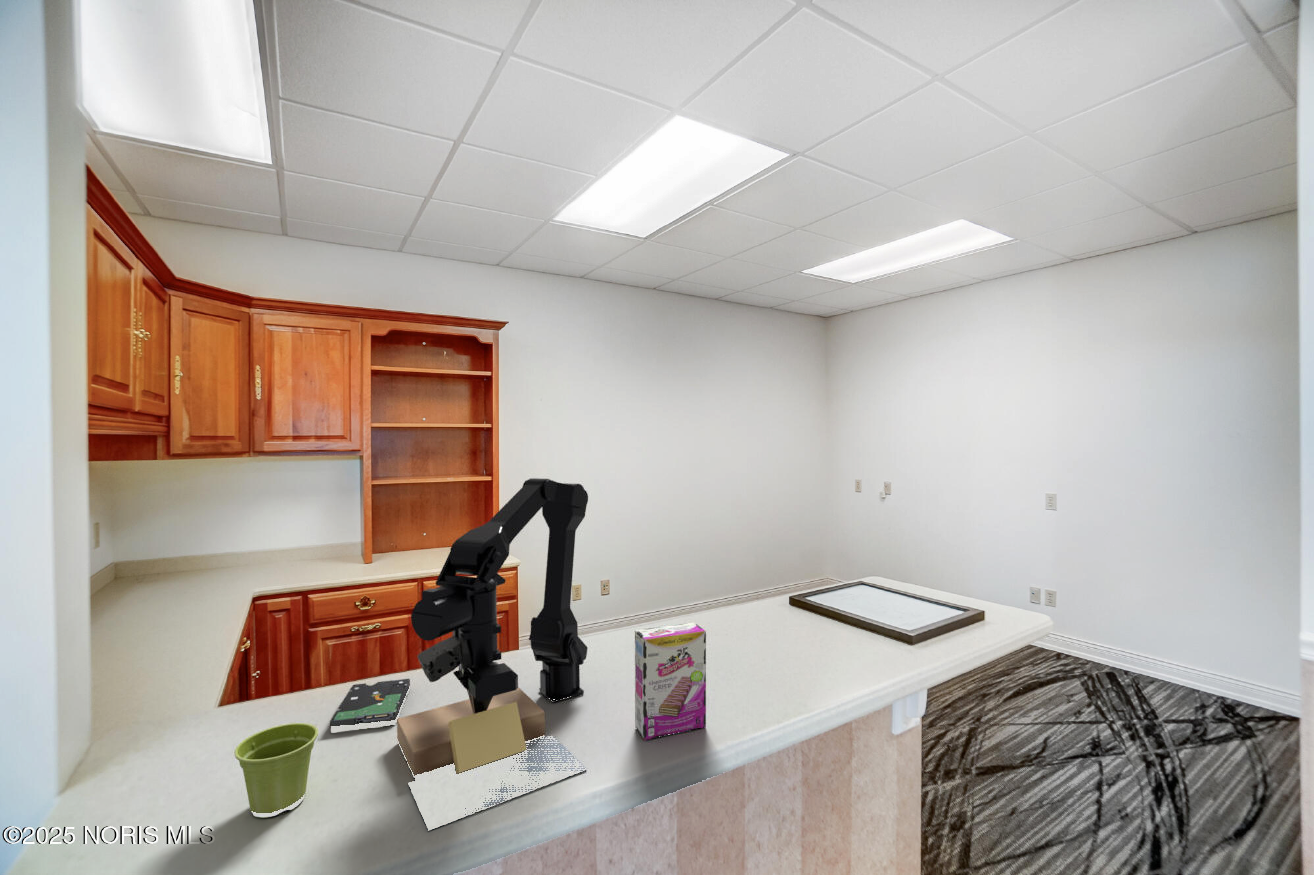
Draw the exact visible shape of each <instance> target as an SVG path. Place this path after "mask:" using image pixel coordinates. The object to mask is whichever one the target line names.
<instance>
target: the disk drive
mask: <svg viewBox="0 0 1314 875" xmlns="http://www.w3.org/2000/svg"><path fill="white" fill-rule="evenodd" d="M409 686H410V687H411V679H410V678H403V679H396V680H383V681H377V682H376V683H374V684H371V685H369V684H367V683H365V682H364V683H357V684H356V683H355V684H352V686H351V687H350V688H349V690H348V692H347V694H346V695H345V696H344V698H343V700H342V702H341V703H340V704H339V706H338V707H337V710H336V711H335V712H334V714H333V715H332V717H331V719H330V721H329V727H330V726H340V725H355V724H359V723H371V722H378V721H379V722H380V721H391V720H395V719H396V717H397V715H398V713H399V710H400V707H401V705H402V703H403V700H404V698H405V696H406V693H407V691H408V689H409Z"/></svg>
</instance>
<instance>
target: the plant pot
mask: <svg viewBox="0 0 1314 875" xmlns="http://www.w3.org/2000/svg"><path fill="white" fill-rule="evenodd" d="M318 736H319V729H318V727H317V726H315V725H314V724H310V723H305V722H294V723H284V724H281V725H276V726H272V727H269V728H266V729H263V730H260V731H258V732H256V733H254V734H252V735H250V736H248V737H247V738H245V739H244V740H242V741H241V742H240V743H239V744H238V745H237V746H236V748H235V750H234V757H235V758H236V760H237V761H238V762H239V766H240V768H241V769H242V772H243V776H244V777H243V778H244V782H245V788H246V789H245V790H246V793H247V799H248V805H249V810H250V809H251V811H253V812H256V813H272V812H274V811H278V810H280V809H284V808H286V807H288V806H290V805H292V804H293V803H295V802H296V801H298V800H299V799H301V797H303V795H304V794H305V795H306V793H305V792H307V783H308V778H309V777H308V776H309V771H310V770H309V769H310V763H311V754H312V750H313V748H314V746H315V741H316V739H317V738H318ZM251 811H250V812H251Z"/></svg>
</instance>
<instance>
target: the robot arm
mask: <svg viewBox="0 0 1314 875" xmlns="http://www.w3.org/2000/svg"><path fill="white" fill-rule="evenodd" d="M588 502H589V494H588V491H587V490H586V489H585V488H584V486H583V485H582V484H581V483H566V482H565V483H564V482H563V483H561V482H558V481H555V480H552V479H550V478H538V477H537V478H533V477H531V478H528V479H527V480H525V481H524V482H523V484H522V487H521V488H520V489H519V490H518V491H516V493H515V494H514V495H513V496H512V497H511V498H510V499H509V500H508V501H507V502H506V503H505V504H504V505H503V506H502V507H501V508H500V509H499V510H498V511H497V512H496V513H495V515H494V516H493V517H492V518H490V519H489V521H487V522H486V523H484V524H483V525H480V526H478V527H475V528H473V529H470V530H468V531H467V532H466V533H464V534H463V535H461V536H460V537H458V538H457V539H456V540H454V542H453V543H452V545H451V547H450V551H449V553H448V555H447V558H446V560H445V562H444V564H443V566H442V569H441V570H440V572H439V575H438V577H437V579H436V581H435V586H437V587H434V588H427V589H424V590H422V592H421V599H420V600H419V601H417V602H416V604H415V605H414V607H413V609H412V612H411V614H410V621H411V625H412V628H413V630H414V632H415V634H416V635H417V636H418V637H419V638H420V639H421V640H424V641H426V642H430V641H431V642H432V641H434V640H436V639H439V638H441V637H442V636H445V635H447V634H450V633H452V636H450V637H448V638H447V639H444V640H441V641H439V642H437V643H436V644H434V645H431V646H430V647H428V648H426V649H425V650H423V651H421V652H420V653H419V654H418V655H417V657H416V658H417V659H418V661H419V664H420V666H421V669H422V670H423V673H424V675H425V676H426V678H427V679H428V681H429V682H430V683H434V682H436V681H439V680H441V679H442V678H443V677H444V676H446V675H448V674H449V673H451V672H453V676H455V677H456V679H457V680H458V681H459V682H460V684H461V686H463V688H464V689H465V690H466V692H467V695H468V699H470V703H471V707H472V711H473V714H476V713H479V712H483V711H486V710H487V709H488V706H489V704H490V702H491V700H492V698H493V696H496V695H499V694H503V693H507V692H511V691H514V690H516V689H517V688H518V687H519V675H518V674H517V673H516V672H515V671H514V670H513V669H512V668H511V667H510V666H509V665H507V664H506V663H505V662H502V663H498V662H497V661H499V660H502V652H501V651H500V650H499V649H498V634H502V626H501V625H500V623H498V618H497V617H498V616H497V613H498V612H497V611H498V610H497V608H498V606H497V605H498V604H497V601H498V600H497V587H498V586H502V585H504V584H505V583H506V578H505V577H503V576H501V575H500V574H499V573H498V572H499V571H500V570H501V569H502V566H504V563H505V562H506V560H507V559H508V557H509V556H510V547H511V546H510V545H511V544H512V542H513V541H514V540H515V538H516V537H517V536H518V535H519V533H521V531H522V530H523V529H524V528H525V527H526V525H527V524H529V523H530V521H531V520H532V519H533V518H534V517H535V516H536V514H537V513H538V512H539V511H540V510H541V514H542V517H543V519H544V521H545V523H546V525H547V527H548V540H547V541H548V543H547V555H546V556H547V557H546V558H547V559H546V568H545V581H544V582H545V584H544V595H543V596H544V597H543V605H542V606H543V607H542V608H541V611H539V613H538V615H537V616H536V617H535V616H533V617H532V618H531V621H530V633H529V636H528V637H529V638H528V640H529V641H530V648H531V650H532V654H533V657H534V659H535V662H542V664H541V666H542V668H541V670H540V672H539V676H540V677H539V685H540V686H539V688H538V690H540V691H541V692H540V691H539V692H540V693H541V694H542V693H543V694H544V695H545V696H544V695H543V694H542V695H543V696H544V697H546V698H547V697H548V698H550V700H552V701H556V700H560V699H563V698H567V697H570V696H574V697H577V696H576V695H578V694H581V695H584V693H585V690H584V689H583V688H581V683H580V682H581V679H580V678H581V677H580V670H581V669H580V666H581V665H583V664H584V661H585V660H586V659H587V655H588V649H589V648H588V646H587V645H586V644H585V643H584V641H583V640H582V639H581V638H580V636H578V634H579V632H578V631H579V630H578V629H579V628H578V621H577V619H576V617H575V615H574V613H573V610H572V608H571V603H572V602H571V600H572V587H573V585H572V583H573V573H574V569H573V568H574V560H575V559H574V556H575V555H574V554H575V546H576V545H575V544H576V531H577V529H578V528H579V526H580V524H581V523H582V521H583V520H584V519H585V517H586V511H587V507H588ZM458 574H461V575H458ZM464 575H465V576H464ZM466 575H468V576H466ZM472 576H474V577H472ZM475 576H476V577H475ZM457 668H458V670H456V669H457ZM578 696H579V695H578ZM548 698H547V699H548ZM553 699H555V700H553ZM550 700H549V701H550Z"/></svg>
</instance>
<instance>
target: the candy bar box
mask: <svg viewBox="0 0 1314 875" xmlns="http://www.w3.org/2000/svg"><path fill="white" fill-rule="evenodd" d="M706 632H707V631H706V630H705V629H704V628H702V627H701V626H700V625H698V624H697V623H696V622H689V623H681V624H673V625H667V626H658V627H651V628H644V629H643V628H642V629H636V630H634V721H635V722H634V723H635V729H636V728H637V729H636V730H637V732H638V731H639V732H640V733H639V732H638V733H639V735H640V734H641V735H642V736H641V735H640V736H641V738H642V737H643V738H644V739H643V738H642V739H643V740H644V741H648V740H647V739H649V740H652V739H651V738H654V739H657V738H656V737H659V736H663V737H665V736H664V735H668V734H673V733H678V732H682V733H685V732H684V731H687V730H688V731H687V732H690V731H689V730H691V731H694V730H693V729H696V730H698V729H697V728H701V729H704V728H703V727H705V728H706V727H707V726H706V725H707V678H706V676H707V633H706ZM678 734H679V733H678ZM673 735H674V734H673ZM668 736H669V735H668ZM659 738H660V737H659Z"/></svg>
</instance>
